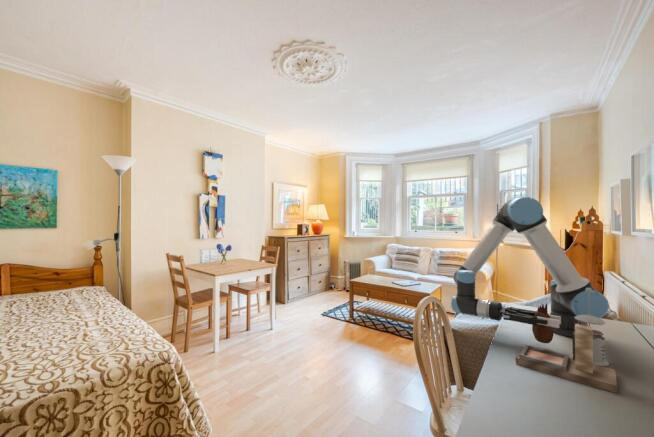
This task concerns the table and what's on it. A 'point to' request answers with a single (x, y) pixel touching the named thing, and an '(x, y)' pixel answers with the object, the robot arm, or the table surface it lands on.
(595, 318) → the french press
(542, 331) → the wooden figurine
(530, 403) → the table surface
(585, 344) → the wooden tray stand
